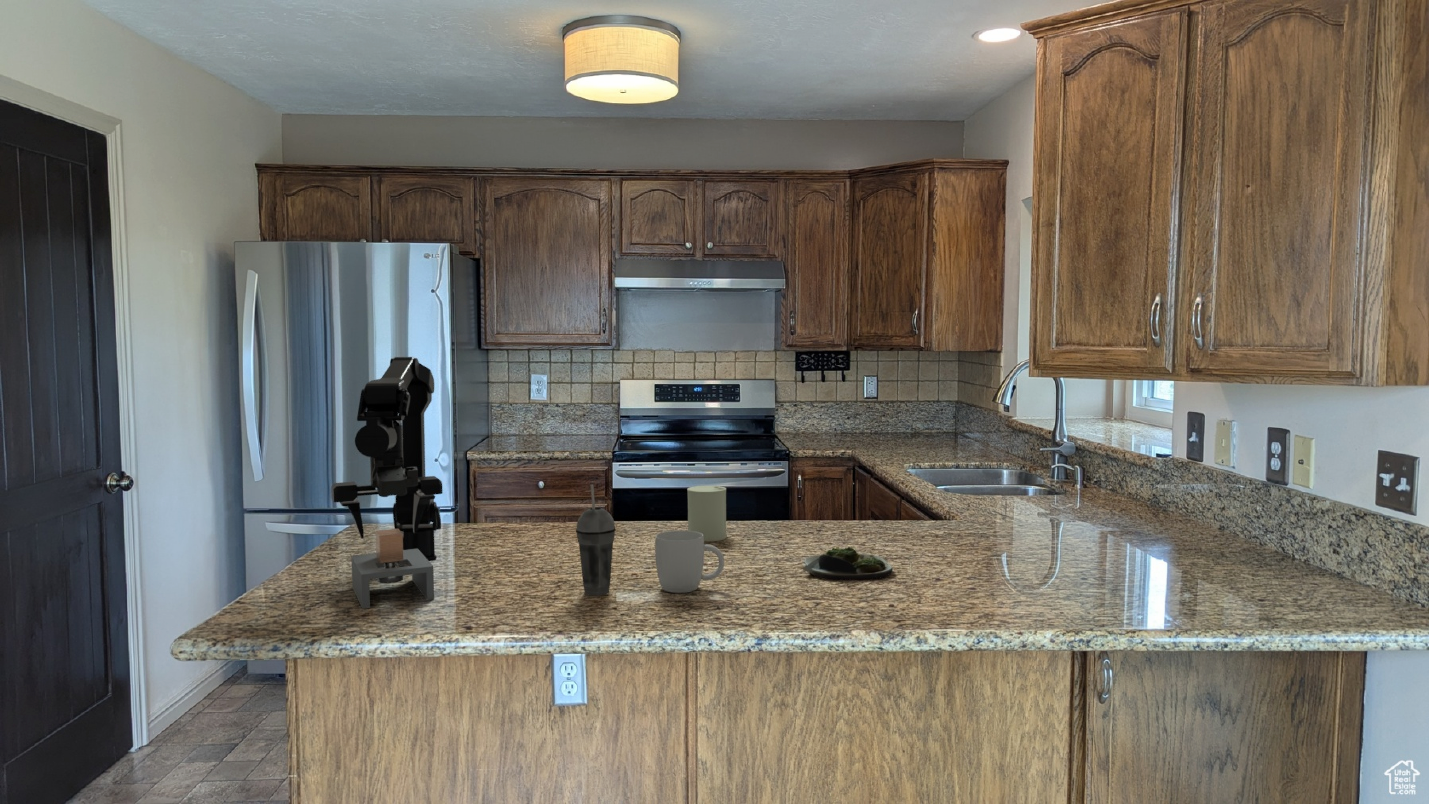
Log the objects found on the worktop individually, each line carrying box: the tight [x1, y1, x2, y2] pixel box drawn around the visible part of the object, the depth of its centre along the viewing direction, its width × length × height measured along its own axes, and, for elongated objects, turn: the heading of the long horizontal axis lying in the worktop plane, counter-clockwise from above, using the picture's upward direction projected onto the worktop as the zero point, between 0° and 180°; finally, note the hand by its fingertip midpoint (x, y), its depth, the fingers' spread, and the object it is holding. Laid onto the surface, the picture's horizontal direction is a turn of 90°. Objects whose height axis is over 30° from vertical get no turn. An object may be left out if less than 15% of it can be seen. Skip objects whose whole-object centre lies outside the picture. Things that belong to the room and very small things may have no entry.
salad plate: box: [802, 546, 893, 581], centre depth 182 cm, size 19×18×5 cm
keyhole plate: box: [351, 549, 435, 610], centre depth 166 cm, size 12×16×6 cm
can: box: [686, 485, 728, 543], centre depth 211 cm, size 9×9×12 cm
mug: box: [654, 530, 725, 594], centre depth 167 cm, size 13×9×10 cm
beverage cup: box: [575, 484, 617, 597], centre depth 165 cm, size 7×7×20 cm
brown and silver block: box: [375, 528, 404, 584], centre depth 167 cm, size 4×5×9 cm
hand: (388, 535), depth 167 cm, fingers open, 9 cm apart
